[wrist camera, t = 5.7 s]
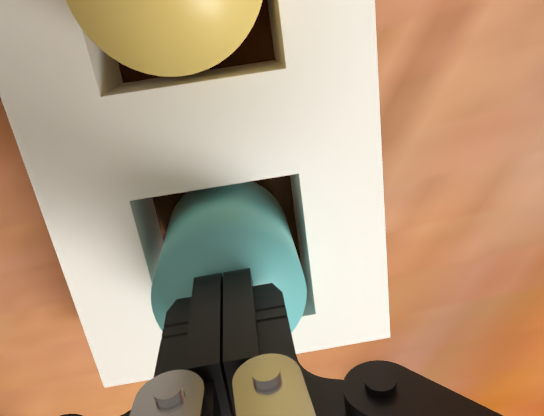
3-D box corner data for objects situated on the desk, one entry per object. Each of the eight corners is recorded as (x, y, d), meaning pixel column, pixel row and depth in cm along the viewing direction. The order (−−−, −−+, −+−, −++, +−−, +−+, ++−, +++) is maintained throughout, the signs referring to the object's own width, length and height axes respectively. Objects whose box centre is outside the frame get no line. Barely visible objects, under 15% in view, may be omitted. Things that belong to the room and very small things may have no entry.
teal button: (279, 167, 16) (297, 216, 12) (293, 274, 17) (314, 347, 13) (155, 187, 16) (132, 242, 12) (182, 293, 17) (170, 372, 13)
